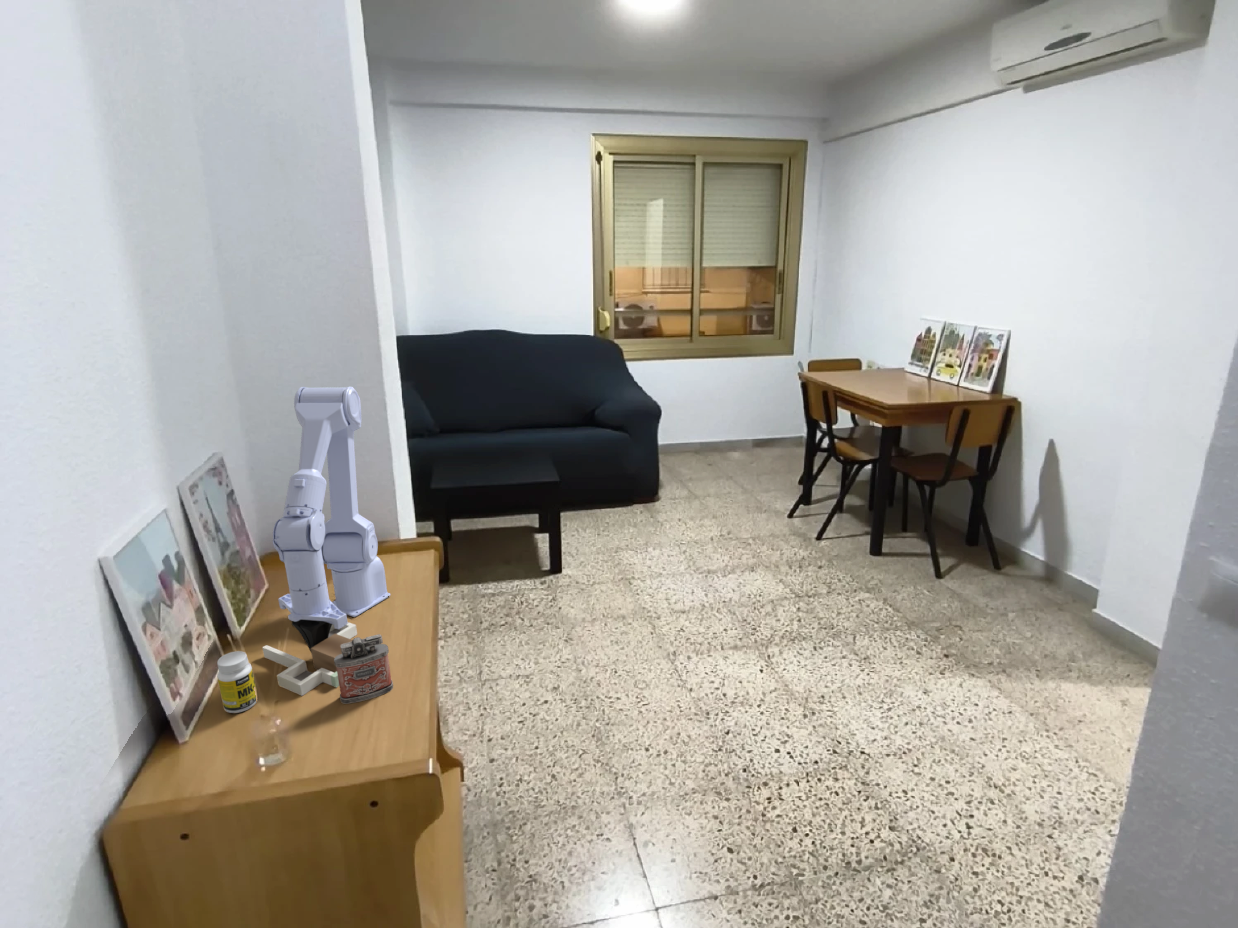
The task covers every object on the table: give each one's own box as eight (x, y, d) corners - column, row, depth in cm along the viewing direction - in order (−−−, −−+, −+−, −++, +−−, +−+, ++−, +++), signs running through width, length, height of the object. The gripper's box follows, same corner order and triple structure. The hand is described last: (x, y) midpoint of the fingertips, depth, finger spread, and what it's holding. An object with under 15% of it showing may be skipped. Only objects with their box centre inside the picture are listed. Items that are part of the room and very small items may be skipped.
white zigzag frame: (324, 622, 127) (322, 613, 127) (394, 647, 119) (392, 637, 119) (242, 669, 113) (240, 659, 113) (315, 701, 105) (313, 691, 105)
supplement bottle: (243, 715, 102) (233, 669, 100) (217, 711, 103) (206, 665, 101) (265, 696, 107) (256, 651, 104) (239, 692, 108) (229, 647, 105)
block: (338, 652, 118) (335, 633, 117) (362, 662, 115) (359, 642, 114) (314, 668, 114) (310, 648, 112) (338, 678, 111) (335, 658, 110)
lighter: (341, 706, 104) (332, 652, 101) (339, 694, 107) (330, 640, 104) (394, 691, 108) (388, 638, 105) (391, 679, 111) (384, 627, 108)
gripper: (257, 583, 111) (271, 653, 116) (317, 604, 105) (329, 677, 109) (294, 566, 117) (306, 632, 122) (353, 584, 111) (363, 654, 115)
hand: (319, 652), depth 116 cm, fingers closed
